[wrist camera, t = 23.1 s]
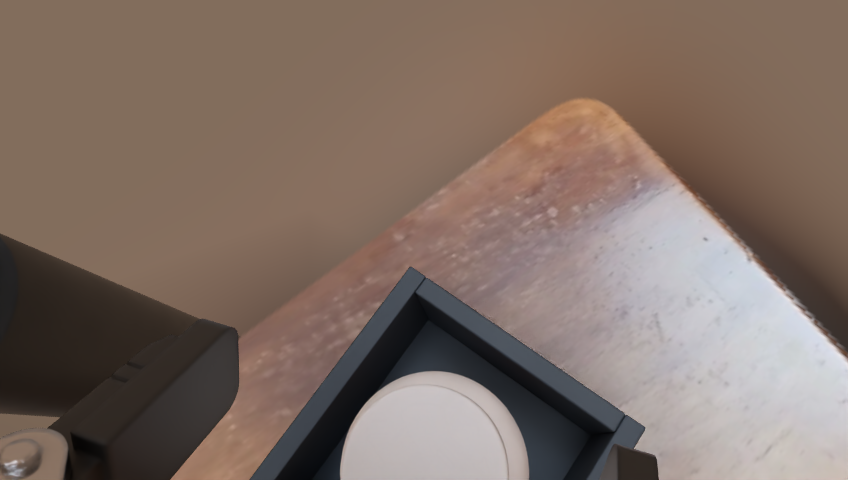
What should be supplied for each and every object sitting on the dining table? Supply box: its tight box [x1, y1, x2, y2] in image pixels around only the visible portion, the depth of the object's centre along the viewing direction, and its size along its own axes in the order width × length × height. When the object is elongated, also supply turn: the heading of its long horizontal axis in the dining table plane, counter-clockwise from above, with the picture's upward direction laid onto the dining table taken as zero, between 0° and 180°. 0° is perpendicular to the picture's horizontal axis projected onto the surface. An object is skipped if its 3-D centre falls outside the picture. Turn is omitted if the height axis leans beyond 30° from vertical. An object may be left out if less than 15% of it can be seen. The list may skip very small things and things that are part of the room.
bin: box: [250, 267, 645, 480], centre depth 24 cm, size 11×11×6 cm
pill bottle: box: [340, 371, 529, 480], centre depth 21 cm, size 6×6×11 cm
